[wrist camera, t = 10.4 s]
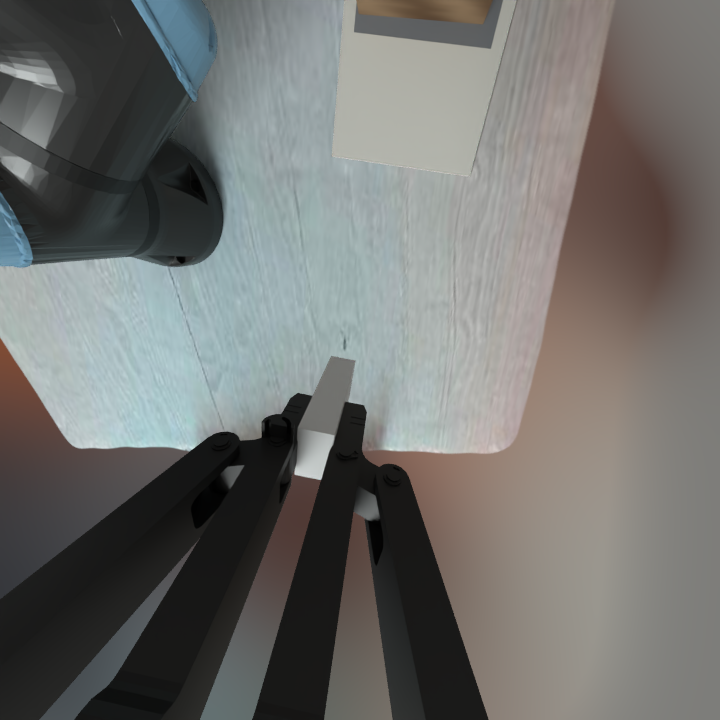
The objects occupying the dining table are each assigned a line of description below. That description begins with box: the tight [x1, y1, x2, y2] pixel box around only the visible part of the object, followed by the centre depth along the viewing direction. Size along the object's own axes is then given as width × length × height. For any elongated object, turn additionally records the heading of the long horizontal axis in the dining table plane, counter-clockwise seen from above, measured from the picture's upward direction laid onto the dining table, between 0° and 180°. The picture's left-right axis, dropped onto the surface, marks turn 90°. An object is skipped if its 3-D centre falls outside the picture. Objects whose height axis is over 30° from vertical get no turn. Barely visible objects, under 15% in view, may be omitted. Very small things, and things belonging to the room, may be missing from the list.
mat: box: [332, 0, 517, 177], centre depth 26 cm, size 16×24×1 cm, turn 172°
